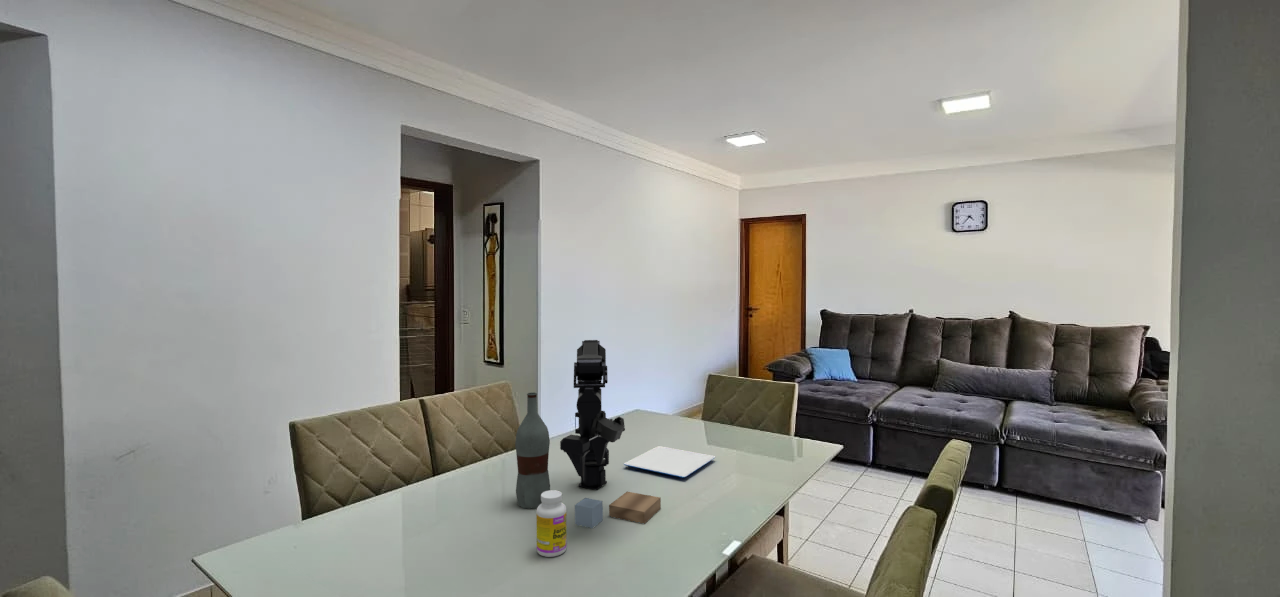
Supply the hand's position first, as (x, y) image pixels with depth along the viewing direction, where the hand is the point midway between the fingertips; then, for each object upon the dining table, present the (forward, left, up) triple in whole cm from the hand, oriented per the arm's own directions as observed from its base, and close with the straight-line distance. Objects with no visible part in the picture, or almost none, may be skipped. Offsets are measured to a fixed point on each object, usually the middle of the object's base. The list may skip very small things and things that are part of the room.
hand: (590, 470), depth 137 cm
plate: (+2, +48, -14) cm, 50 cm away
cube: (0, 0, -13) cm, 13 cm away
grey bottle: (-20, +4, -13) cm, 25 cm away
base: (+8, +10, -13) cm, 18 cm away
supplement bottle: (0, -16, -13) cm, 21 cm away
